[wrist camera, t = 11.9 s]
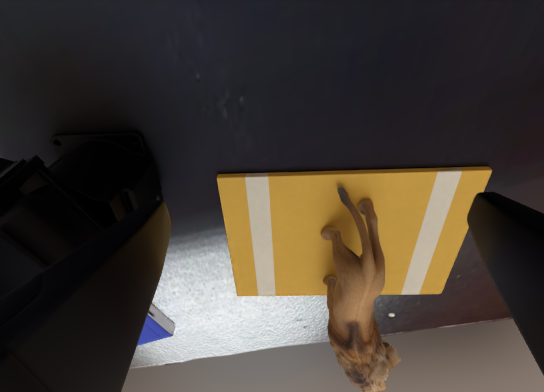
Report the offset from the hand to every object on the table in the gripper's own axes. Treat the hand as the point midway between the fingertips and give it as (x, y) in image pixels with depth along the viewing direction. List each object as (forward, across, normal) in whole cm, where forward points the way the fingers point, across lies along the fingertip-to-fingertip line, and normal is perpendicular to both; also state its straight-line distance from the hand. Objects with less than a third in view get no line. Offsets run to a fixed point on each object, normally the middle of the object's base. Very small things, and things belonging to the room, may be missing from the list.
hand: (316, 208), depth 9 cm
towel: (+13, -4, +14) cm, 19 cm away
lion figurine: (+13, -5, +15) cm, 20 cm away
